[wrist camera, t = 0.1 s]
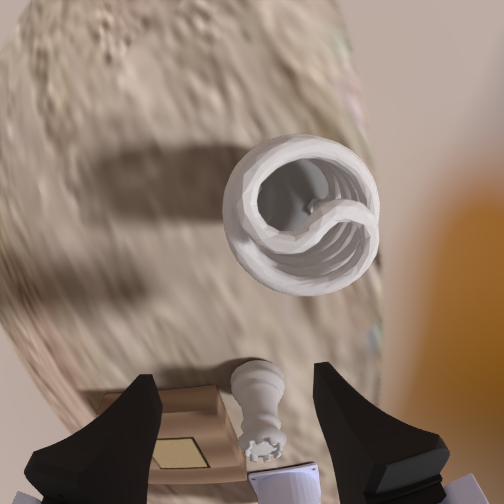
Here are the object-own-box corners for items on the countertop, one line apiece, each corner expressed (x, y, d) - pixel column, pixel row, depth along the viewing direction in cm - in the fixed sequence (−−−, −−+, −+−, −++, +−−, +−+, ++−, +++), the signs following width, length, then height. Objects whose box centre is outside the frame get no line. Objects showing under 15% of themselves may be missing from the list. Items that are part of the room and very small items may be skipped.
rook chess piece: (219, 379, 25) (214, 454, 17) (255, 347, 24) (262, 423, 16) (258, 403, 26) (264, 475, 18) (294, 374, 25) (311, 447, 17)
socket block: (246, 459, 29) (246, 480, 26) (153, 464, 29) (148, 483, 26) (216, 384, 25) (214, 408, 22) (105, 393, 25) (95, 415, 22)
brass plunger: (207, 458, 26) (207, 466, 25) (163, 460, 26) (161, 467, 25) (192, 430, 24) (191, 438, 23) (143, 432, 24) (141, 440, 23)
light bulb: (322, 149, 20) (421, 153, 8) (308, 232, 21) (379, 323, 10) (235, 135, 19) (231, 113, 8) (224, 221, 21) (207, 309, 9)
